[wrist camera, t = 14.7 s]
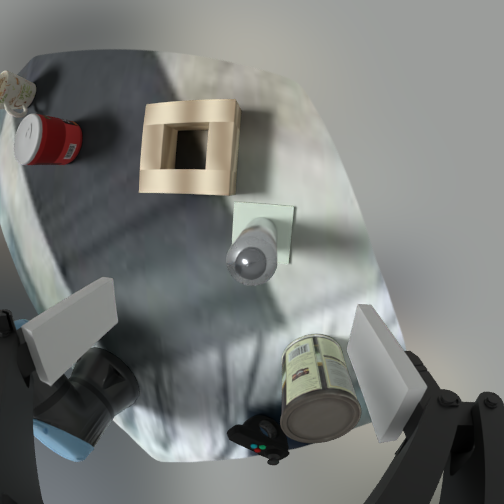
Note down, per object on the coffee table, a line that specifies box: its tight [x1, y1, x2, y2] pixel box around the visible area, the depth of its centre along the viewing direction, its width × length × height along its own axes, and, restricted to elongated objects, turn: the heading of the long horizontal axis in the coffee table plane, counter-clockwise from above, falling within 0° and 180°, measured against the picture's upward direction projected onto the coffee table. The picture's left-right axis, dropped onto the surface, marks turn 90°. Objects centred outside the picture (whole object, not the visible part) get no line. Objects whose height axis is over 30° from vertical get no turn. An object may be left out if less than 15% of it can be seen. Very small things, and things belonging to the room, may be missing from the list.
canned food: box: [14, 114, 82, 165], centre depth 32 cm, size 8×8×11 cm
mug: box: [0, 71, 36, 118], centre depth 30 cm, size 8×13×10 cm, turn 35°
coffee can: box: [280, 334, 361, 443], centre depth 35 cm, size 10×10×14 cm
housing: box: [139, 99, 241, 196], centre depth 33 cm, size 12×12×5 cm
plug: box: [226, 217, 277, 286], centre depth 30 cm, size 4×4×15 cm
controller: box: [227, 415, 289, 465], centre depth 41 cm, size 4×12×10 cm, turn 54°
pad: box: [232, 202, 294, 264], centre depth 37 cm, size 8×8×1 cm
